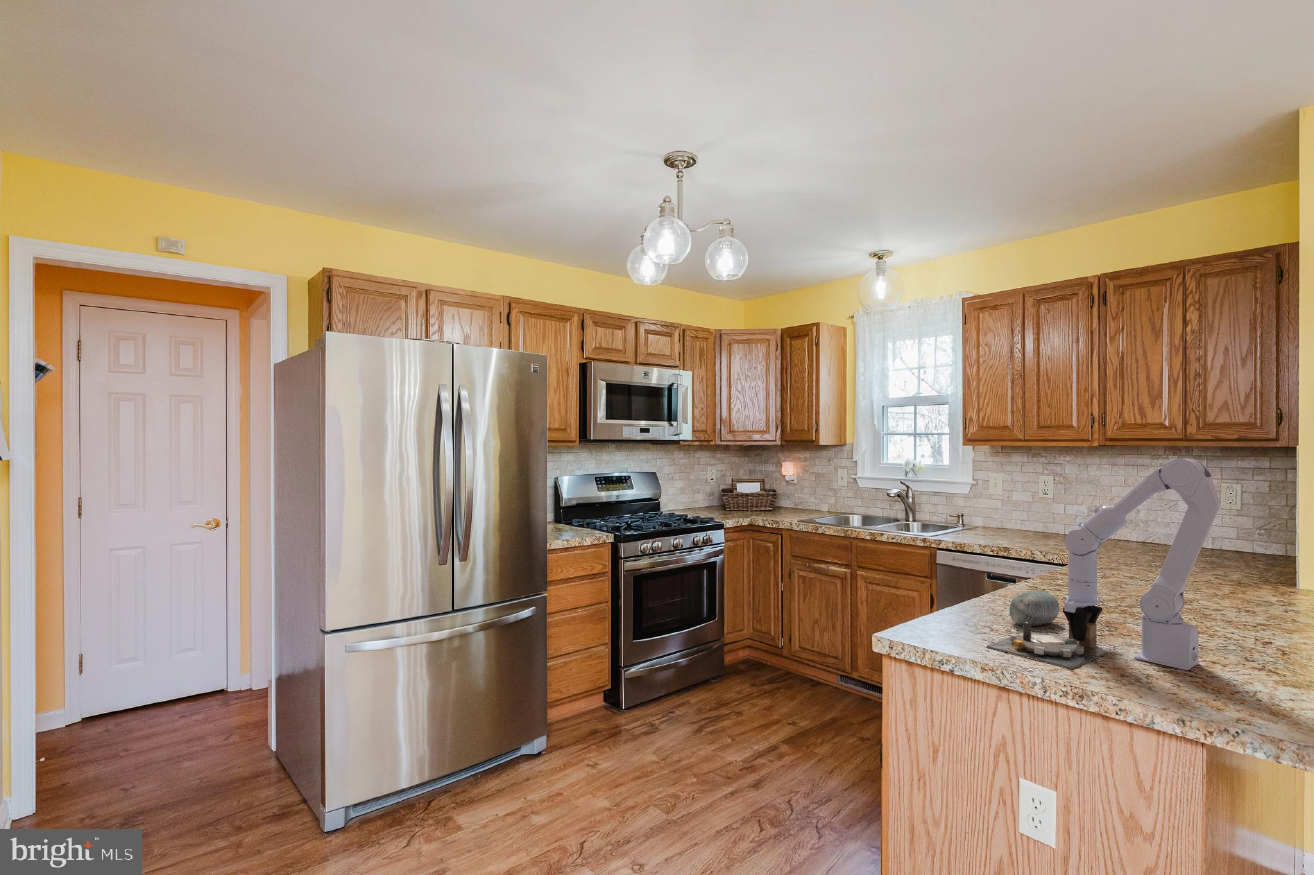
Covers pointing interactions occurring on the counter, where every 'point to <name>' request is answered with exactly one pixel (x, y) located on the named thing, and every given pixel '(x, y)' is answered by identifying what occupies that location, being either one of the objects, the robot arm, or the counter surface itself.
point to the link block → (1088, 636)
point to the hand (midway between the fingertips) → (1082, 638)
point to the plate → (1066, 662)
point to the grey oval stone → (1034, 608)
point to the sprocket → (1046, 643)
